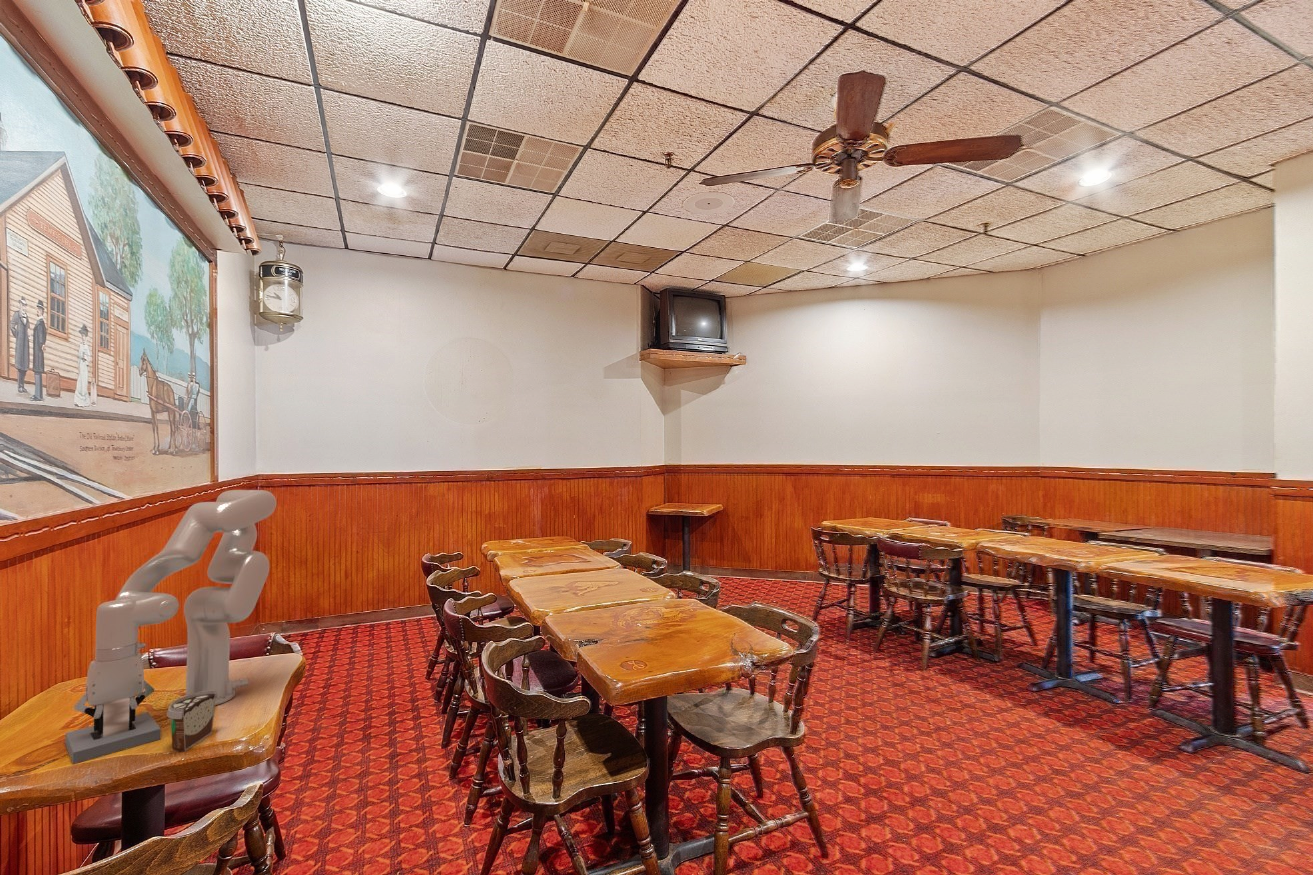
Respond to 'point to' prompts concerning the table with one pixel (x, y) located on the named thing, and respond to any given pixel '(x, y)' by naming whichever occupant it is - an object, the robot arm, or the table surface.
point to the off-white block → (115, 717)
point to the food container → (191, 719)
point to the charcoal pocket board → (111, 739)
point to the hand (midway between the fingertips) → (114, 728)
